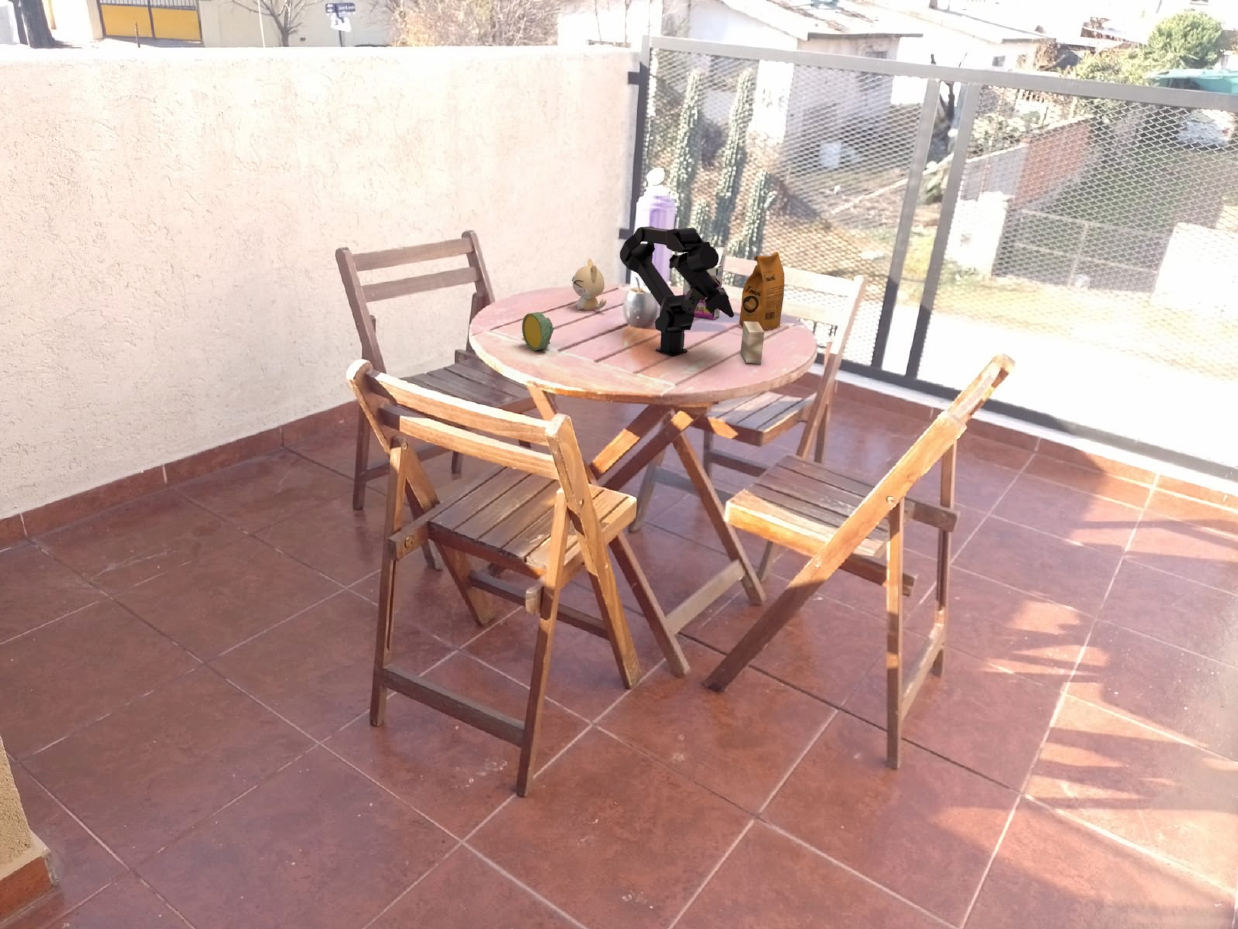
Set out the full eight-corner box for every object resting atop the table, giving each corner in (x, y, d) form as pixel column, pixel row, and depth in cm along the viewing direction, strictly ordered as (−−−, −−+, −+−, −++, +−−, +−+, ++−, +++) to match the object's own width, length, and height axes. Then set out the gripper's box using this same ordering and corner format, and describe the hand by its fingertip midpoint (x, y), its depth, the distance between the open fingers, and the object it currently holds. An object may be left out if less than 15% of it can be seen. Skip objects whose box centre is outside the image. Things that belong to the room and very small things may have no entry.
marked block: (745, 364, 240) (749, 331, 236) (740, 352, 249) (743, 321, 245) (760, 365, 240) (764, 332, 236) (754, 353, 249) (758, 321, 245)
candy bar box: (719, 317, 282) (724, 264, 275) (713, 320, 278) (718, 267, 271) (687, 311, 286) (690, 259, 279) (680, 314, 282) (684, 262, 275)
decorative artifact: (521, 345, 248) (521, 309, 243) (543, 341, 252) (543, 306, 247) (542, 354, 241) (542, 318, 236) (563, 350, 245) (564, 314, 240)
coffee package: (733, 326, 273) (740, 253, 264) (759, 319, 281) (766, 248, 272) (759, 333, 266) (767, 259, 257) (784, 326, 274) (793, 254, 265)
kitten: (568, 302, 290) (569, 256, 284) (599, 302, 292) (600, 256, 286) (575, 315, 277) (575, 266, 271) (607, 315, 279) (608, 266, 272)
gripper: (668, 285, 245) (705, 326, 250) (675, 303, 228) (714, 347, 233) (699, 257, 242) (736, 299, 247) (708, 274, 225) (747, 318, 230)
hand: (732, 316), depth 240 cm, fingers closed
